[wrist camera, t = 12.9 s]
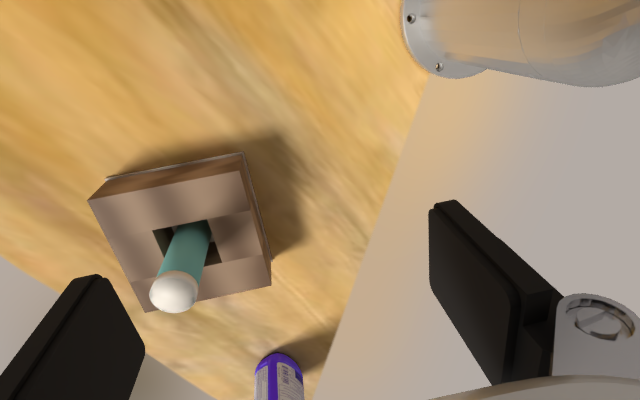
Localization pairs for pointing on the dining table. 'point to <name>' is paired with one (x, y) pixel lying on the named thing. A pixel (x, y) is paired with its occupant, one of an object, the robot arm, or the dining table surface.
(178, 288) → the peg
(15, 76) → the dining table surface
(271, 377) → the bottle
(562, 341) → the robot arm
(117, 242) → the socket block
